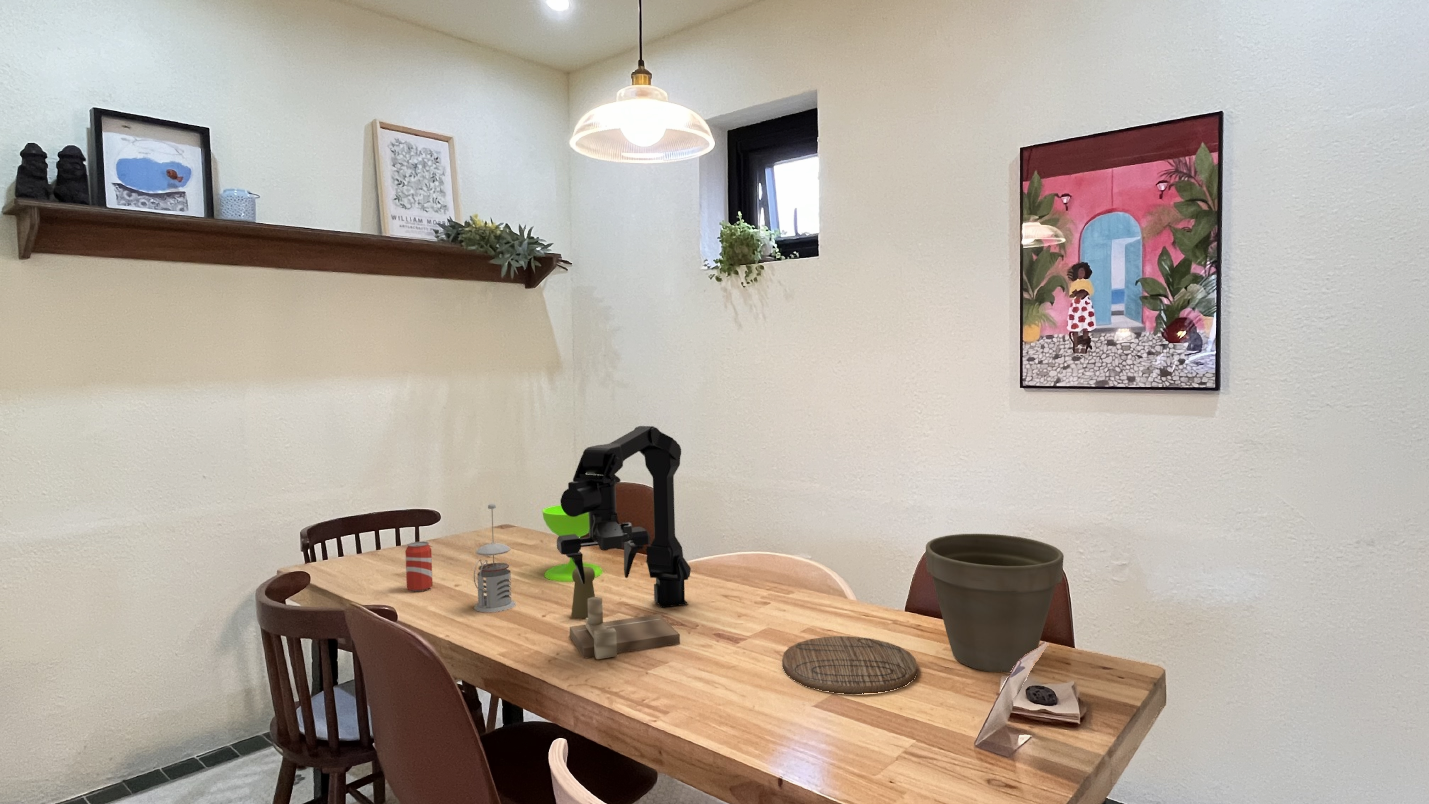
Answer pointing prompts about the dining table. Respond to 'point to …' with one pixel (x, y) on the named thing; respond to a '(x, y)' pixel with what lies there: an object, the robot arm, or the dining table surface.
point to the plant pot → (993, 595)
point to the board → (629, 634)
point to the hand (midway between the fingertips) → (605, 580)
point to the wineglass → (566, 526)
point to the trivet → (849, 665)
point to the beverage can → (418, 566)
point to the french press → (493, 578)
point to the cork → (582, 593)
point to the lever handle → (600, 630)
